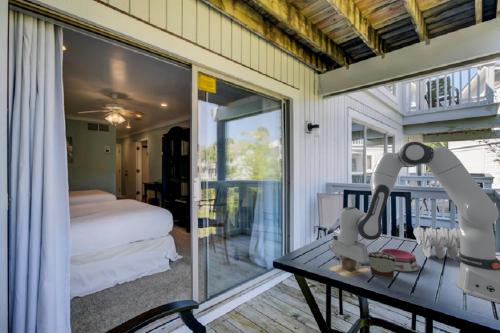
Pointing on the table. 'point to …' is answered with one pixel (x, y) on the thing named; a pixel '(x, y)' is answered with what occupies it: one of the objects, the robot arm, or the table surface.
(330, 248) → the teacup
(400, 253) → the dog bowl
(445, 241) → the spiral staircase
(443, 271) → the table surface
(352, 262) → the walnut block
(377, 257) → the food container
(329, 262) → the table surface
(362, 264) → the grey rounded dome
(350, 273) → the oak board
